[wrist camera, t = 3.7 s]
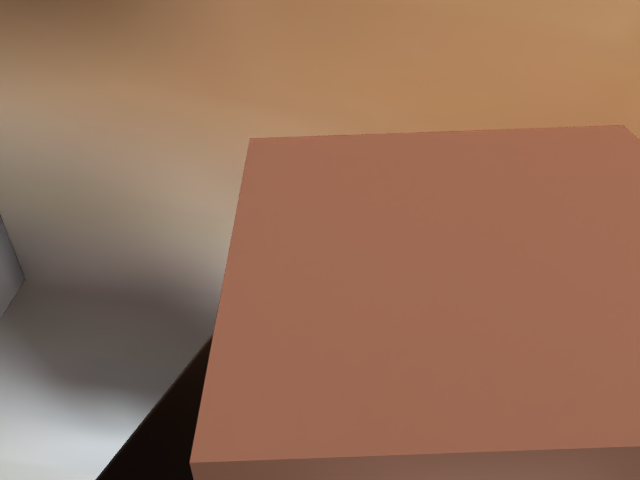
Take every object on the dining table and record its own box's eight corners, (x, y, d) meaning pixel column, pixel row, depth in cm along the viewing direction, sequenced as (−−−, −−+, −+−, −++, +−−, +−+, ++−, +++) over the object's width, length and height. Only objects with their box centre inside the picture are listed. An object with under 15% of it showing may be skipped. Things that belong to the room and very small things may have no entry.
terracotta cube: (552, 385, 11) (710, 727, 7) (276, 395, 11) (257, 745, 7) (623, 124, 8) (973, 434, 4) (249, 138, 8) (189, 463, 4)
